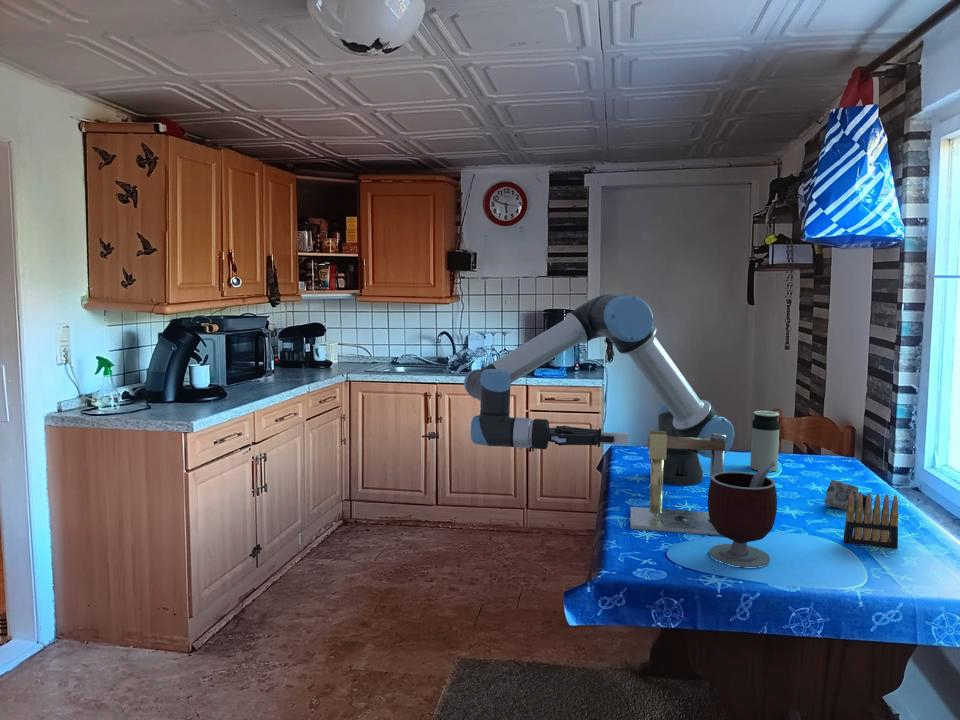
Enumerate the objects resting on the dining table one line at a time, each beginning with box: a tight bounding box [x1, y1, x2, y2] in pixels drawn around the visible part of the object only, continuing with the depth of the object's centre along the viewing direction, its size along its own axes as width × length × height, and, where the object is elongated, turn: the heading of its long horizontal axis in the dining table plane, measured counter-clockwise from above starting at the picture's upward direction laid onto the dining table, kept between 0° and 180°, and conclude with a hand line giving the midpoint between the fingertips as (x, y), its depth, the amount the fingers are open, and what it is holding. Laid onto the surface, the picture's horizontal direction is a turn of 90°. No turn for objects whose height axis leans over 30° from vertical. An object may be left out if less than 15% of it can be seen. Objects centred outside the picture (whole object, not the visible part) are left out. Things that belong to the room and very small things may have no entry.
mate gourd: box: [707, 462, 778, 567], centre depth 154 cm, size 16×14×20 cm
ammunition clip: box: [842, 491, 899, 550], centre depth 161 cm, size 11×2×12 cm, turn 72°
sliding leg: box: [648, 430, 667, 516], centre depth 176 cm, size 4×6×21 cm
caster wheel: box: [824, 479, 873, 511], centre depth 189 cm, size 7×11×10 cm
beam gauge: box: [630, 433, 726, 536], centre depth 174 cm, size 26×14×22 cm, turn 78°
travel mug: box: [749, 410, 780, 472], centre depth 225 cm, size 8×8×18 cm
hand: (627, 439), depth 176 cm, fingers closed
